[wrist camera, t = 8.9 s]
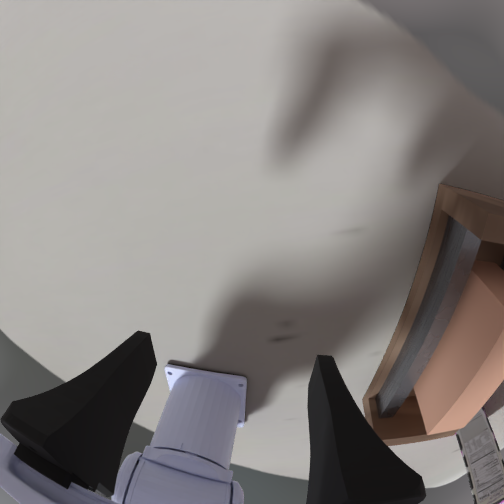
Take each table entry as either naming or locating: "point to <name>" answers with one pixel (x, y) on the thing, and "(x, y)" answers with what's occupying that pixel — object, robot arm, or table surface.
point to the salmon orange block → (466, 355)
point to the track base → (432, 308)
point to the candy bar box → (482, 460)
